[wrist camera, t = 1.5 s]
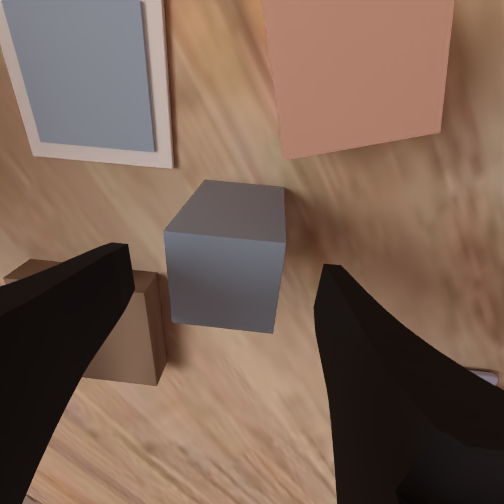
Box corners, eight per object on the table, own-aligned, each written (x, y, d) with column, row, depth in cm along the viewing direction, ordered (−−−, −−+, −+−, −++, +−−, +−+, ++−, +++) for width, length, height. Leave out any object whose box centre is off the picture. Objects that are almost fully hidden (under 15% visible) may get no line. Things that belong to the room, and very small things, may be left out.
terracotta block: (374, -5, 11) (464, -91, 6) (373, 113, 13) (440, 132, 7) (267, 23, 11) (257, -30, 6) (281, 131, 13) (283, 160, 8)
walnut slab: (159, 268, 18) (143, 293, 16) (168, 356, 22) (156, 386, 20) (35, 255, 18) (2, 278, 16) (66, 345, 22) (43, 372, 20)
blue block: (284, 187, 15) (286, 243, 9) (275, 255, 17) (273, 333, 11) (204, 179, 15) (163, 231, 9) (205, 248, 17) (171, 322, 11)
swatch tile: (162, -22, 11) (157, -26, 10) (174, 167, 14) (171, 169, 14) (-17, -33, 11) (-29, -38, 11) (37, 154, 15) (30, 156, 14)
